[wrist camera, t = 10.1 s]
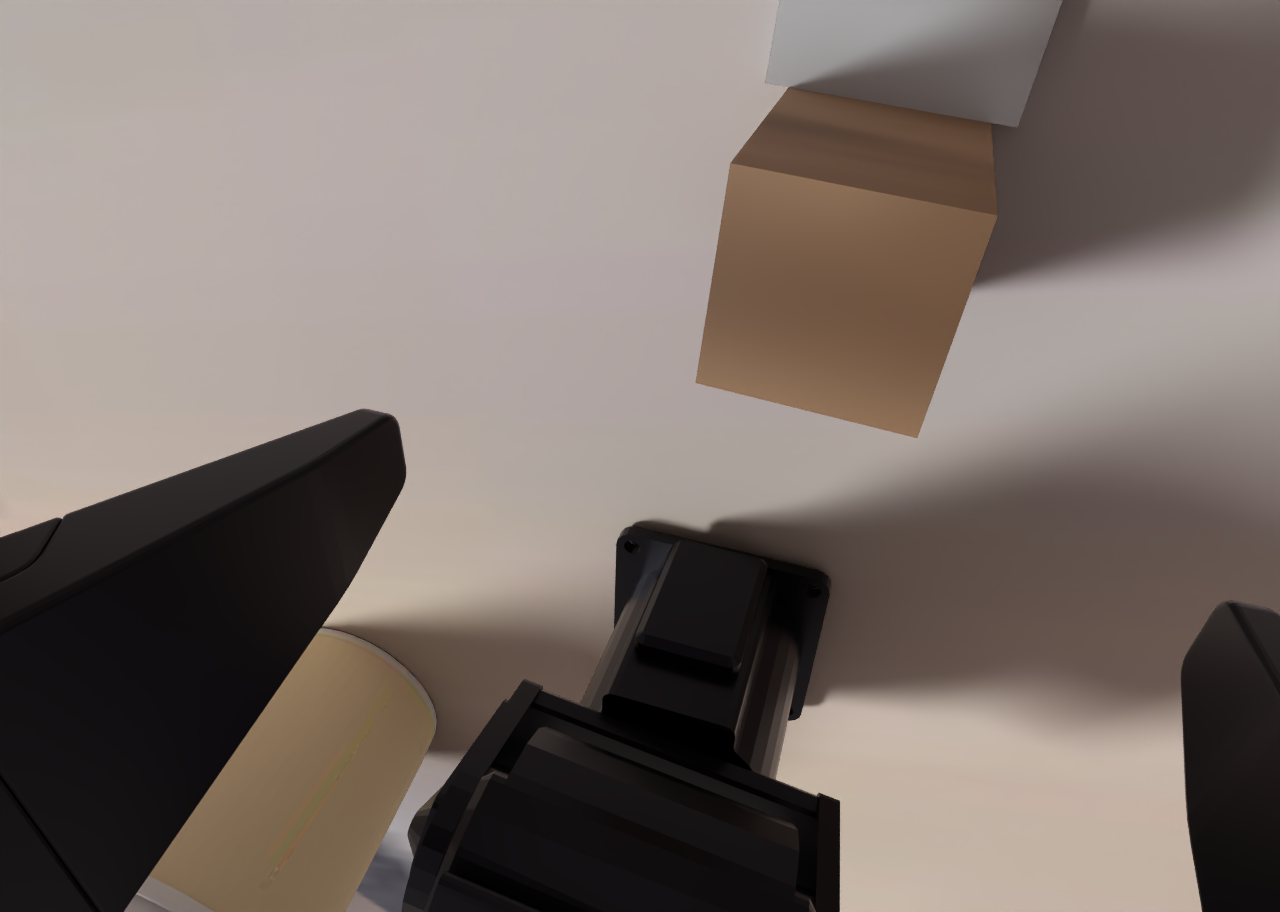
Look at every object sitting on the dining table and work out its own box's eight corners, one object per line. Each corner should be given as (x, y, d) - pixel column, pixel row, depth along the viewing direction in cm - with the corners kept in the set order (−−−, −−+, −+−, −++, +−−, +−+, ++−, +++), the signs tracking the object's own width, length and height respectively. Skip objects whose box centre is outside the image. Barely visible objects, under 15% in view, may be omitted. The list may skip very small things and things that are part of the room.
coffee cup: (318, 750, 41) (125, 1017, 31) (226, 606, 36) (-35, 870, 27) (485, 773, 37) (322, 1082, 28) (406, 617, 32) (179, 926, 23)
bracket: (952, 301, 19) (946, 445, 15) (738, 255, 20) (669, 376, 15) (1221, -463, 12) (1381, -665, 7) (868, -480, 13) (811, -667, 8)
